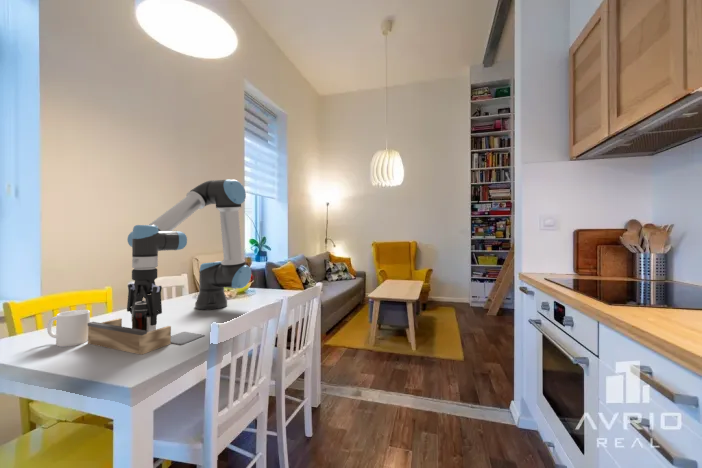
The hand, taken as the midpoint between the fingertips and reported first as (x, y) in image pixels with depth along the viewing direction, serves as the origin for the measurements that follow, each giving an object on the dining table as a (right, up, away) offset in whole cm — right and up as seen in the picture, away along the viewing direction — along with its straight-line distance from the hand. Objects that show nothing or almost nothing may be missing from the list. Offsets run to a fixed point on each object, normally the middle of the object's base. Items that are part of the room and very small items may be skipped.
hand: (143, 332), depth 107 cm
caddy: (-2, -2, -5) cm, 5 cm away
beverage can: (0, -1, 0) cm, 1 cm away
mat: (+13, -3, +1) cm, 13 cm away
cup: (-23, -2, -5) cm, 23 cm away
